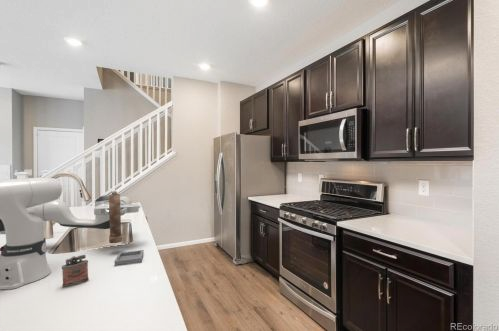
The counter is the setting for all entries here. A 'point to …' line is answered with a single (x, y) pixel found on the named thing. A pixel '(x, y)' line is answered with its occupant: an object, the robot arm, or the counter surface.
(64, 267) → the lighter
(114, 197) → the pepper mill
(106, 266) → the counter surface
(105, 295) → the counter surface
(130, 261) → the tray
